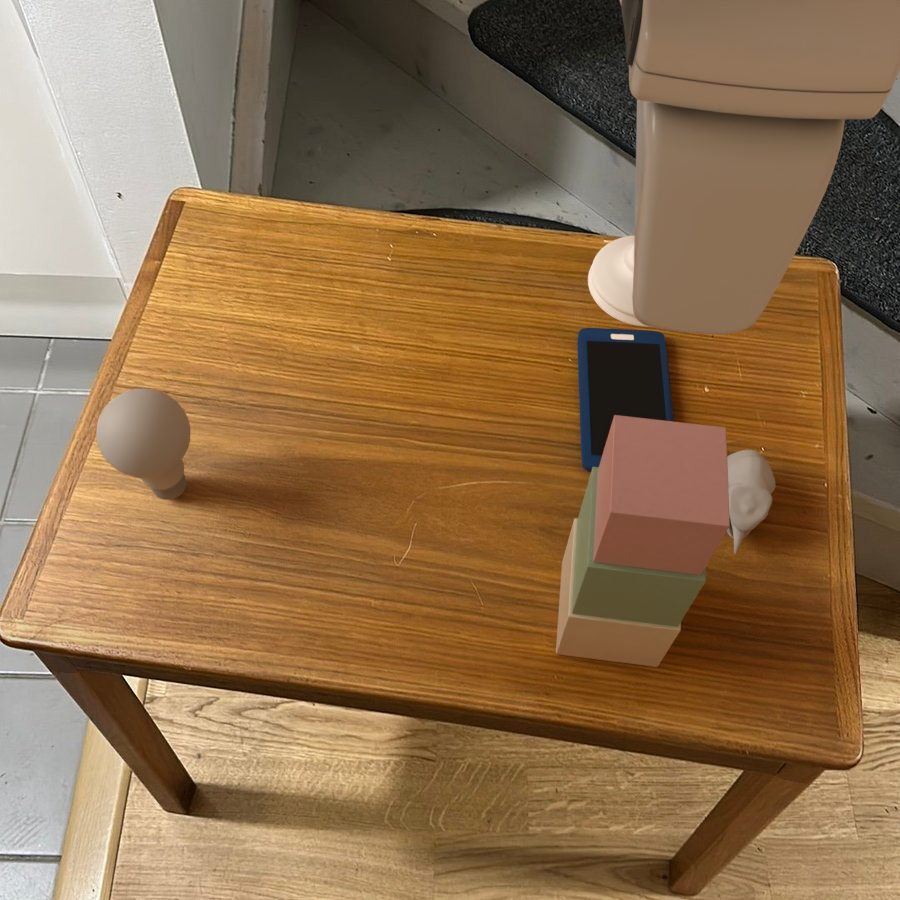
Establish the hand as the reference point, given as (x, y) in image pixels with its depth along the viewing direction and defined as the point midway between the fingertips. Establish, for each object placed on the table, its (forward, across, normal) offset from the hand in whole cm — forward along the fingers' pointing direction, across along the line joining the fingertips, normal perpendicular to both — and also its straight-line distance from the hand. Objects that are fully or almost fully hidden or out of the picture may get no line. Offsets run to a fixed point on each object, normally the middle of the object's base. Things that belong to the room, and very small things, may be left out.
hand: (657, 226), depth 38 cm
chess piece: (+4, 0, 0) cm, 4 cm away
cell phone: (+34, -15, +4) cm, 37 cm away
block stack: (+34, +3, +3) cm, 34 cm away
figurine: (+34, -6, +12) cm, 36 cm away
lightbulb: (+34, -2, -30) cm, 45 cm away
